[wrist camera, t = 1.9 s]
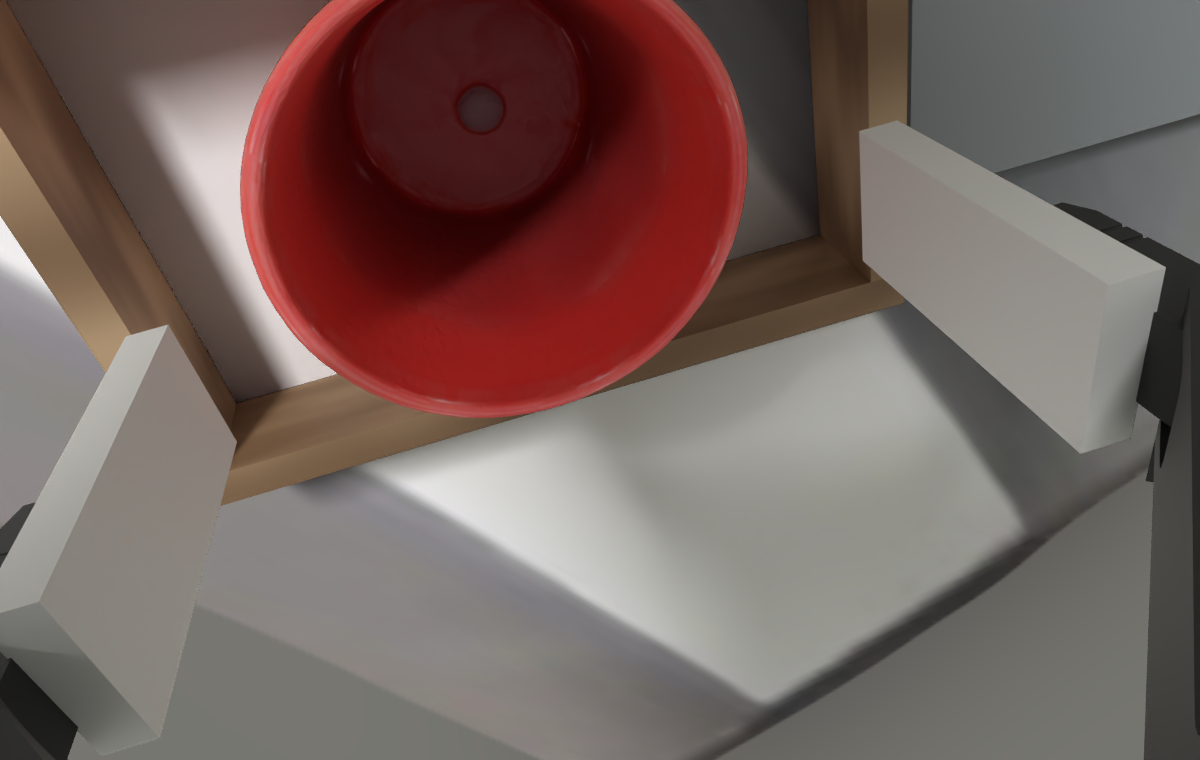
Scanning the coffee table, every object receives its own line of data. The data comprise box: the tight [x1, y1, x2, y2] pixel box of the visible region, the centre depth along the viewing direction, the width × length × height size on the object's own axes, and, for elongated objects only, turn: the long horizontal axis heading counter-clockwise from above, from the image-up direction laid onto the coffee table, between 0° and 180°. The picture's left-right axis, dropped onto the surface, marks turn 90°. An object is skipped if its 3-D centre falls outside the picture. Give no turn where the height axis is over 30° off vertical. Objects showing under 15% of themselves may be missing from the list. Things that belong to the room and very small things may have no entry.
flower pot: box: [240, 0, 748, 418], centre depth 22 cm, size 11×11×10 cm
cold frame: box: [0, 0, 908, 506], centre depth 23 cm, size 18×24×7 cm
